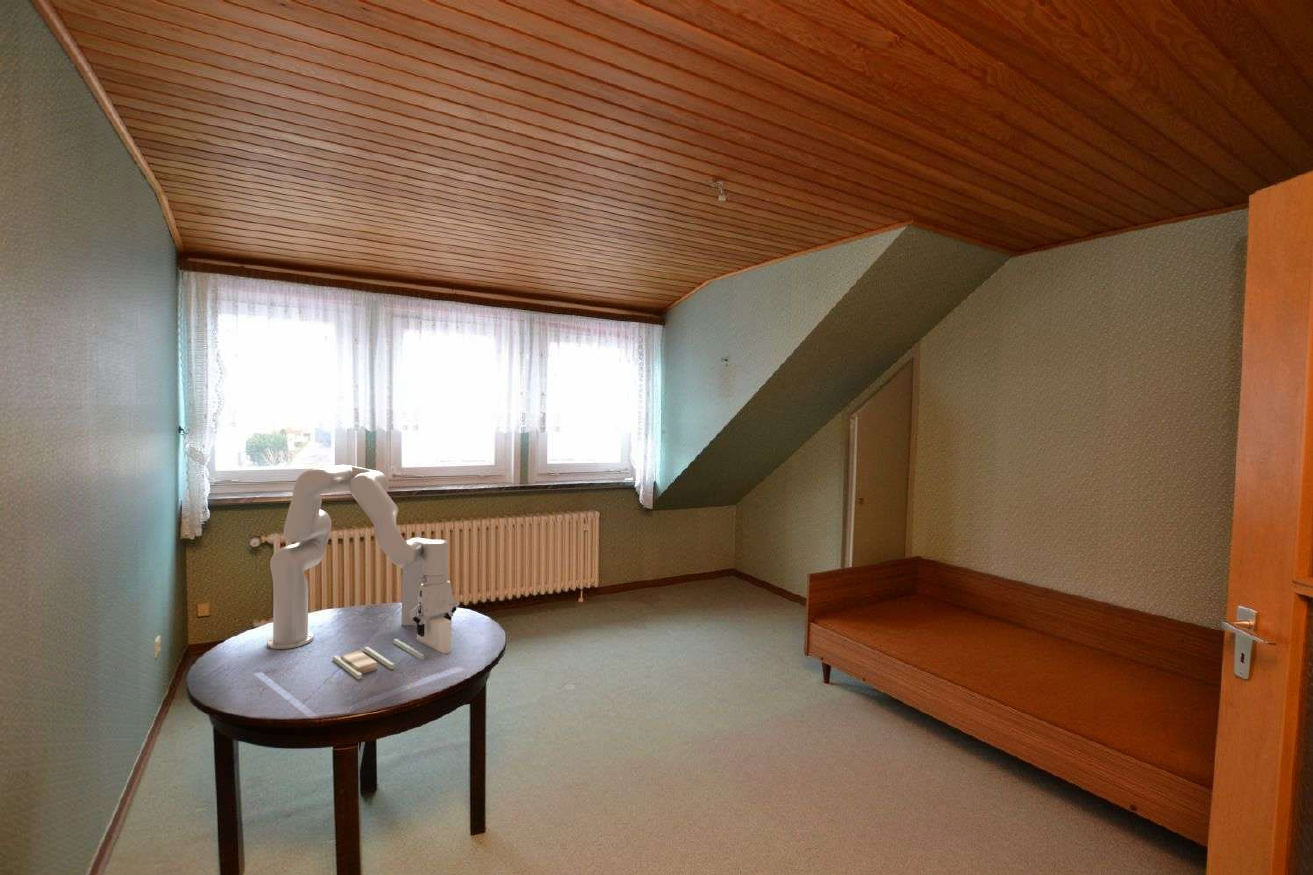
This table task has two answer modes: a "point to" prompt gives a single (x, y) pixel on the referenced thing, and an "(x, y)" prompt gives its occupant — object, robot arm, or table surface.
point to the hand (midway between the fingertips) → (434, 631)
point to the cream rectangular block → (437, 633)
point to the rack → (377, 658)
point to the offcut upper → (360, 661)
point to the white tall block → (411, 590)
